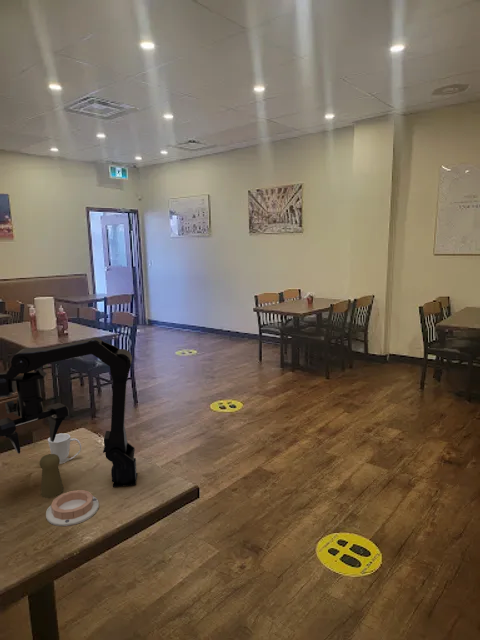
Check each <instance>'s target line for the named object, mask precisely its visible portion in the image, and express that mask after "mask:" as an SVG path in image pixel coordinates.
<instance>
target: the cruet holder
mask: <svg viewBox="0 0 480 640" xmlns="http://www.w3.org/2000/svg"><path fill="white" fill-rule="evenodd" d="M99 507H100V503H99V500H98V498H97V497H96V496H94V495H93V494H92V493H91V492H90V491H88V490H83V489H79V490H77V489H76V490H70V491H67V492H64V493H61V494H60V495H58V496H56V498H55V497H54V499H53V500H52V503H51V504H50V505H49V507H48V508H47V509H46V512H45V517H46V520H47V522H48V523H49V524H51V525H53V526H58V527H69V526H74V525H79V524H80V523H84V522H85V521H87V520H89V519H91V518H92V517H94V515H95V514H96V513H97V512H98V511H99Z"/></svg>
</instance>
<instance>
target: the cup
mask: <svg viewBox="0 0 480 640" xmlns="http://www.w3.org/2000/svg"><path fill="white" fill-rule="evenodd" d="M73 441H75V442H77V443H78V444H79V450H78V452H76V454H74V455H73V456H72V457H70V458H69V456H70V455H69V454H70V450H71V449H70V448H71V442H73ZM47 443H48V445H49V446H48V448H49V450H50V454H56V455H58V457H59V459H60V462H59V465H62V464H65V463H67V462H68V461H71V460H73V459H74V458H77V456H79V454H80V453H81V451H82V444H81V442H80V440H79V439H78V438H73V437H72V438H71V435H70V434H69V433H64V432H63V433H62V432H61V433H57V434H56V436H55V439H54V442H51V440H50V437H48V438H47Z"/></svg>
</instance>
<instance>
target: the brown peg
mask: <svg viewBox="0 0 480 640" xmlns="http://www.w3.org/2000/svg"><path fill="white" fill-rule="evenodd" d="M59 462H60V459H59V457H58V455H56V454H51V453H48V454H45V455H43V456H42V457H41V458H40V459H39V467H40V469H41V485H40V486H41V487H40V496H41V497H42V498H45V499H53V498H55V497H56V498H57V497H58V496H60V495H61V494H63V492H64V490H65V489H64V485H63V480H62V477H61V473H60V468H59V466H60V464H59Z"/></svg>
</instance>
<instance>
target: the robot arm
mask: <svg viewBox="0 0 480 640" xmlns="http://www.w3.org/2000/svg"><path fill="white" fill-rule="evenodd" d="M87 355H92V356H95V357H96V358H97V359H99V360H100V361H101V362H102V363H103V364H105V365H107V367H108V366H109V370H110V377H111V381H112V396H111V397H112V398H111V399H112V400H111V401H112V402H111V422H110V424H111V425H110V430H105V434H104V437H103V450H102V453H103V454H104V453H105V454H104V455H105V458H106V460H108V461H109V462H111V464H112V466H111V468H110V472H111V482H112V488H119V487H131V486H137V480H138V473H137V459H136V457H135V450H136V448H135V447H134V446H133V445H131V444H130V443H129V442H128V439H127V431H126V427H125V418H126V404H127V403H126V400H127V382H128V379H129V374H130V370H131V366H132V361H133V356H132V354H131V352H130V351H129V350H127V349H125V348H119V347H117V346H115V345H113V344H110V343H108V342H105V341H103V340H102V339H100V338H99V337H91V338H89V339H85V340H80V341H74V342H71V343H65V344H62V345H61V344H60V345H57V346H51V347H25V348H23V349H21V350H19V351H18V352H16V353H15V354H14V355H13V356H12V358H11V359H10V368H9V369H8V370H7V371H6V372H5V371H4V372H0V398H10V397H12V395H13V393H15V392H16V391H17V392H16V393H17V397H16V403H15V402H14V400H11V401H8V402H4V404H5V405H4V406H5V407H4V408H5V412H6V414H11V413H13V415H14V416H17V417H18V418H17V419H13V420H12V418H10V417H5V418H2V419H0V437H4V438H5V439H9V440H10V442H11V445H13V448H14V449H15V451H16V453H17V454H18V455H20V454H21V446H20V438H19V433H18V432H17V431H16V430H17V427H20V426H23V425H26V424H29V423H33V422H36V421H40V420H42V419H46V418H47V421H48V426H49V429H48V430H49V438H50V440H51V442H54V439H55V436H56V434H58V430H59V429H60V426H61V425H62V422H63V421H65V420H66V417H68V416H70V410H69V409H70V408H69V407H68V406H67V405H65V404H63V403H60V402H57V403H54V404H53V403H52V404H51V405H50V404H49V405H47V407H46V410H44V409H43V402H44V398H43V397H42V393H41V392H42V391H41V384H40V380H43V379H44V378H46V376H47V375H48V374H47V372H46V371H43V370H42V369H41V367H44V366H46V365H48V364H51V363H56V362H60V361H65V360H70V359H74V358H79V357H82V356H87ZM35 370H36V371H35ZM20 374H22V375H20ZM19 417H20V418H19Z"/></svg>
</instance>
